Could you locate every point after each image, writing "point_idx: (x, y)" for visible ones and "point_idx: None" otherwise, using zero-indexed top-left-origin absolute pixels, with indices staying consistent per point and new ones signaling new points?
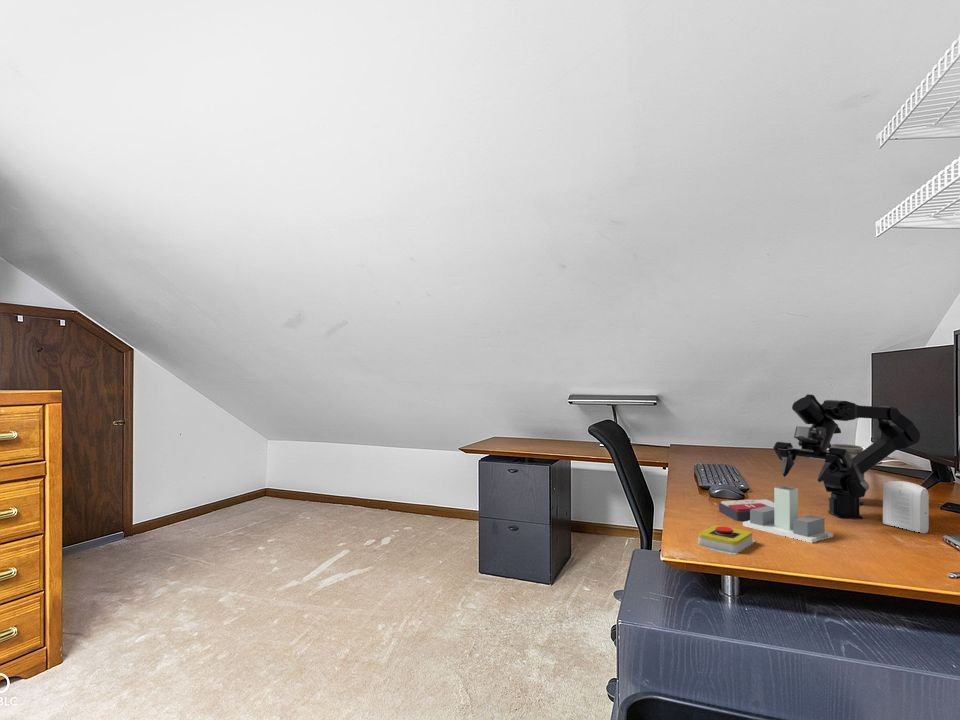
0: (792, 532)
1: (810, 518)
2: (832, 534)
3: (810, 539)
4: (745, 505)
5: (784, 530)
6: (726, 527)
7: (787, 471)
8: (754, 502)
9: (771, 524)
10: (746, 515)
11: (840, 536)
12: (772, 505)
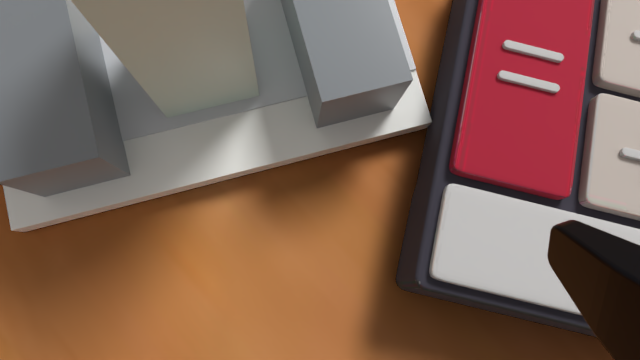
0: None
1: (25, 77)
2: (14, 225)
3: None
4: (558, 54)
5: None
6: None
7: (621, 338)
8: (615, 169)
9: (272, 24)
10: (457, 12)
11: (18, 290)
12: (512, 230)
